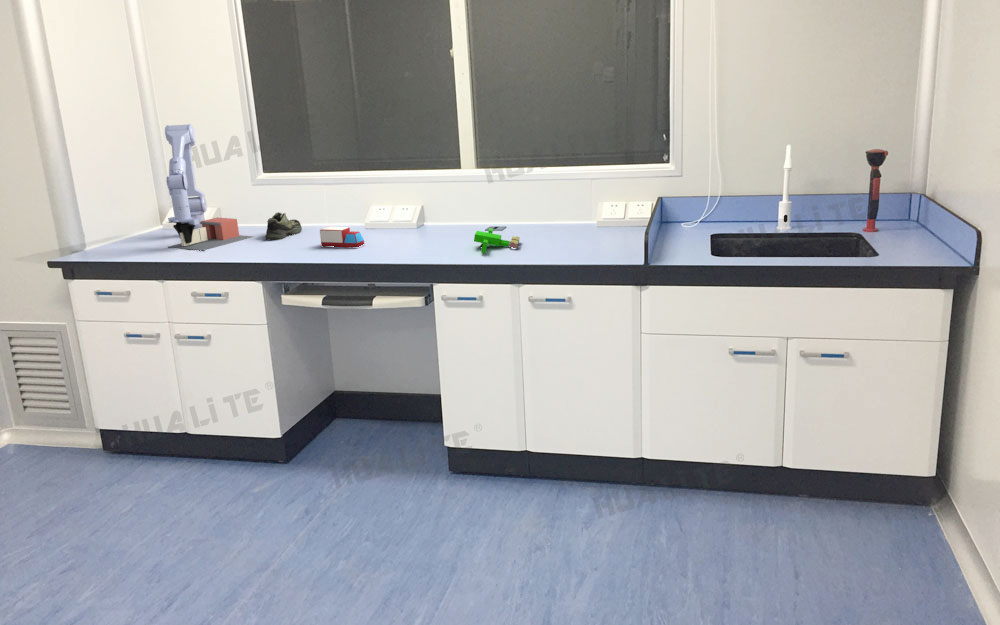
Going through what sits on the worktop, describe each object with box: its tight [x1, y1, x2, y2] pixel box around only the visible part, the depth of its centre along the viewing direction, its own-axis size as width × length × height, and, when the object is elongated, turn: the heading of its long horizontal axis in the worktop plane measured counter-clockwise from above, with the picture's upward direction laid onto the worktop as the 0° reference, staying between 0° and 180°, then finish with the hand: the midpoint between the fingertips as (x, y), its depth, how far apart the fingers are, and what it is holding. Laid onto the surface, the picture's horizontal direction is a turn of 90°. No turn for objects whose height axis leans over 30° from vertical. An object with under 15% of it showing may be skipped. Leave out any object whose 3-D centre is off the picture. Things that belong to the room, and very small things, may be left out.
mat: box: [167, 234, 255, 252], centre depth 315 cm, size 20×25×1 cm
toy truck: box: [319, 226, 365, 248], centre depth 296 cm, size 6×15×7 cm, turn 69°
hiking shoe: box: [265, 211, 303, 241], centre depth 321 cm, size 8×21×9 cm, turn 167°
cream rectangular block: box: [179, 227, 208, 246], centre depth 311 cm, size 2×11×5 cm, turn 150°
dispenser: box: [200, 216, 240, 240], centre depth 321 cm, size 11×9×7 cm
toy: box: [473, 228, 520, 254], centre depth 282 cm, size 22×5×15 cm
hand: (187, 242), depth 308 cm, fingers closed on cream rectangular block
